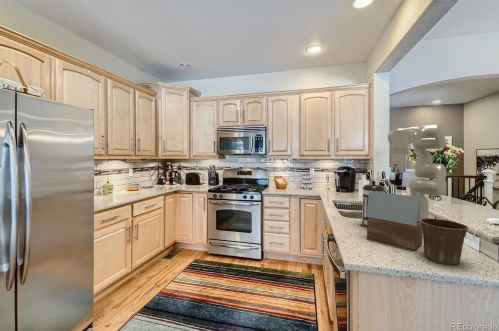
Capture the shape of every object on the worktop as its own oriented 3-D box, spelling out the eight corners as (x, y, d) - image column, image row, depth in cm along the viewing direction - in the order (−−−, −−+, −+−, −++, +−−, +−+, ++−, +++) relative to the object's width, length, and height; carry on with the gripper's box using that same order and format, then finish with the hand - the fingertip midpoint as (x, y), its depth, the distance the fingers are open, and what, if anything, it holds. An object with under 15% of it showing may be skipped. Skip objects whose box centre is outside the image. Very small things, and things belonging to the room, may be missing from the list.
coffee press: (354, 222, 158) (355, 179, 157) (378, 223, 158) (379, 179, 157) (366, 230, 141) (367, 182, 140) (392, 231, 140) (394, 182, 139)
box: (376, 233, 135) (377, 213, 135) (422, 244, 119) (423, 221, 119) (366, 239, 126) (367, 217, 126) (414, 251, 110) (415, 226, 109)
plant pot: (472, 271, 91) (474, 231, 90) (422, 262, 98) (423, 224, 98) (459, 256, 105) (461, 221, 104) (416, 249, 113) (417, 216, 112)
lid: (370, 191, 128) (369, 191, 127) (419, 197, 111) (419, 196, 110) (366, 216, 126) (365, 216, 125) (416, 226, 109) (416, 226, 108)
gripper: (396, 152, 132) (394, 184, 132) (387, 151, 122) (385, 185, 122) (411, 152, 126) (410, 185, 127) (403, 151, 117) (402, 187, 117)
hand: (398, 185), depth 125 cm, fingers closed
